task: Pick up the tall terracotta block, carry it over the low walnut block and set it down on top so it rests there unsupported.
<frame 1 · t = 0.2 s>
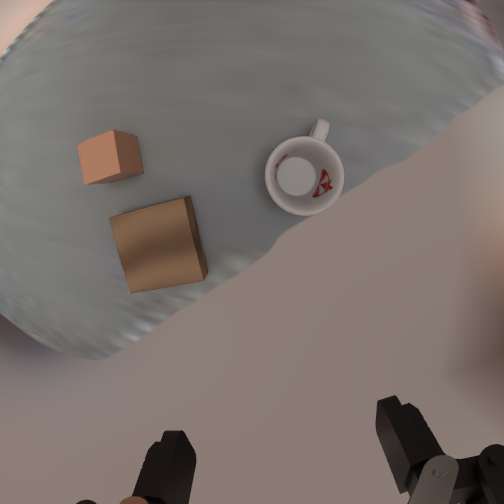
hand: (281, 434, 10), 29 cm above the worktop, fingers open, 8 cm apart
walnut block: (164, 241, 38), on the worktop
cup: (299, 166, 36), on the worktop
terracotta block: (123, 159, 35), on the worktop
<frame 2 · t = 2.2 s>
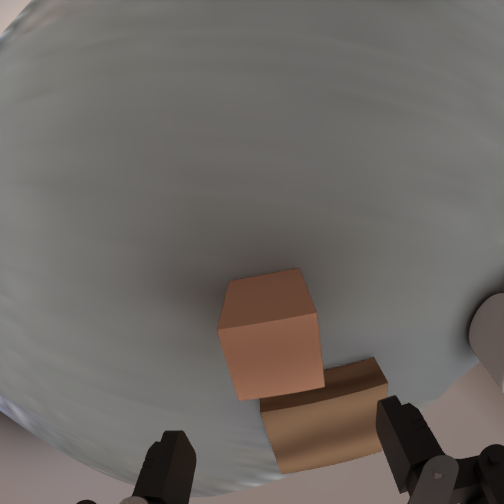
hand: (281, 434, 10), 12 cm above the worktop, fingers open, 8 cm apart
walnut block: (322, 407, 25), on the worktop
cup: (492, 306, 22), on the worktop
terracotta block: (270, 306, 22), on the worktop
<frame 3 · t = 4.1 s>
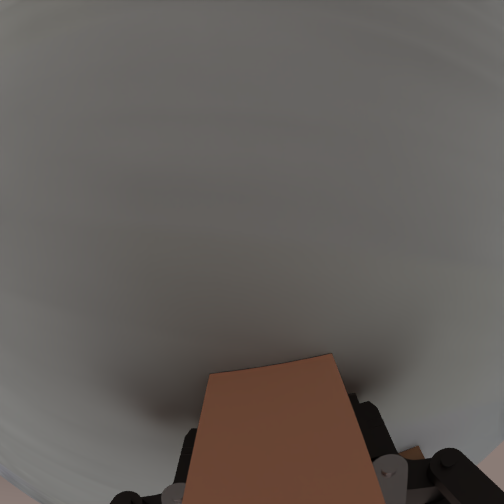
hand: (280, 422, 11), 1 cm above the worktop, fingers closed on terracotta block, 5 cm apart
terracotta block: (279, 407, 12), on the worktop, touching gripper
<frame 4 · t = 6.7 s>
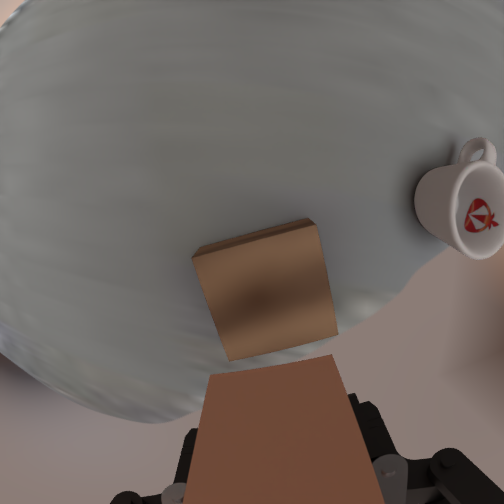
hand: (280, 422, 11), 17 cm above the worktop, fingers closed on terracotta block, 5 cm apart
walnut block: (267, 282, 28), on the worktop
cup: (439, 187, 25), on the worktop
terracotta block: (279, 408, 12), point 16 cm above the worktop, touching gripper
when the fingers open (6 cm above the worktop, at t = 9.5 s): terracotta block drops 1 cm, resting on walnut block.
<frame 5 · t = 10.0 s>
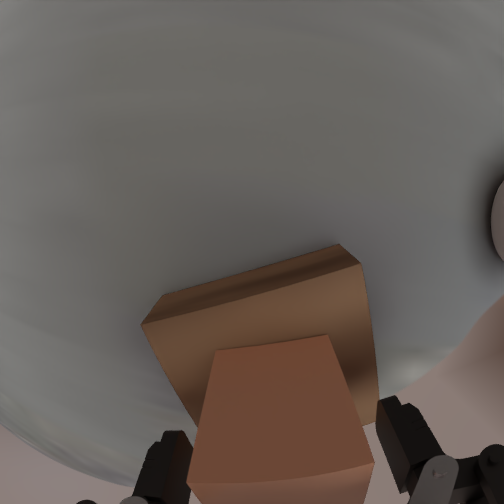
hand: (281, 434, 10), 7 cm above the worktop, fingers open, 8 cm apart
walnut block: (273, 345, 17), on the worktop, touching terracotta block
terracotta block: (278, 385, 13), point 4 cm above the worktop, touching walnut block
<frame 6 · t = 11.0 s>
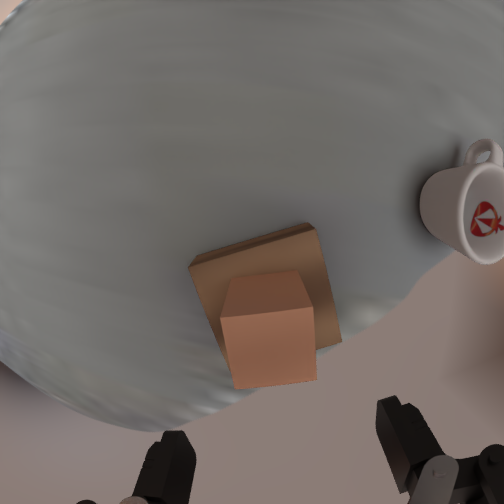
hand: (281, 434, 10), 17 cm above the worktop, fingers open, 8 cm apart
walnut block: (268, 290, 27), on the worktop
cup: (444, 190, 24), on the worktop
terracotta block: (268, 304, 23), point 4 cm above the worktop
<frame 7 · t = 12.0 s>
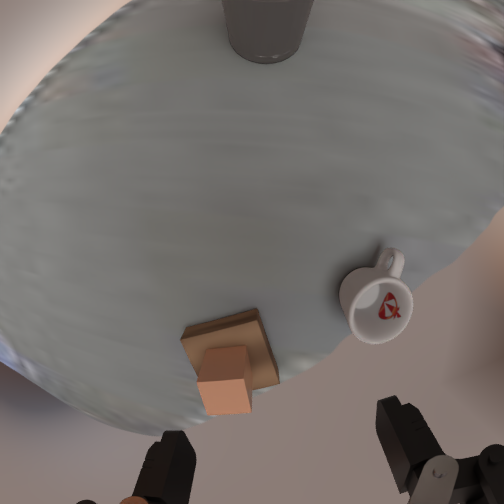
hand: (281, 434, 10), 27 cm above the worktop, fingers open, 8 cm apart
walnut block: (233, 348, 40), on the worktop
cup: (364, 279, 37), on the worktop
terracotta block: (230, 363, 36), point 4 cm above the worktop
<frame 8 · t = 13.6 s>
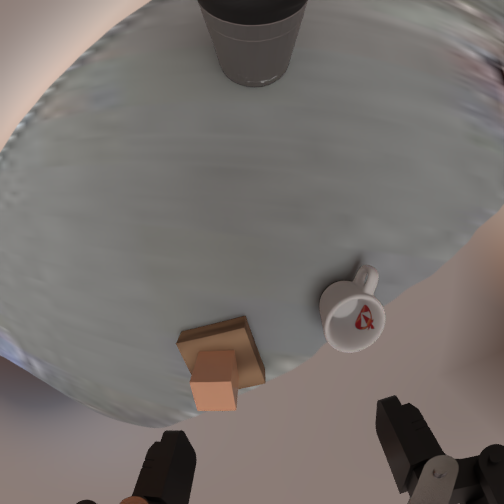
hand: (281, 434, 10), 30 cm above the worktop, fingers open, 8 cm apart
walnut block: (224, 350, 44), on the worktop
cup: (344, 290, 41), on the worktop
terracotta block: (219, 365, 40), point 4 cm above the worktop
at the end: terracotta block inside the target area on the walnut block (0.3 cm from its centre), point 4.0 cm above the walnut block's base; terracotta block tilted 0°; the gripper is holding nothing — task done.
